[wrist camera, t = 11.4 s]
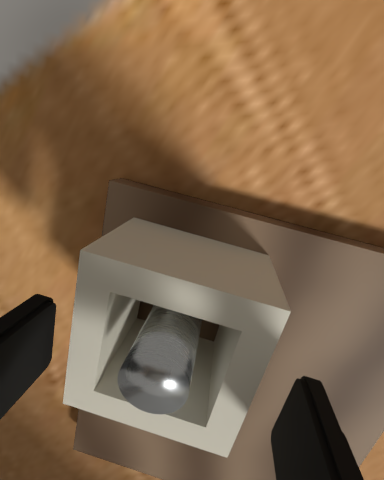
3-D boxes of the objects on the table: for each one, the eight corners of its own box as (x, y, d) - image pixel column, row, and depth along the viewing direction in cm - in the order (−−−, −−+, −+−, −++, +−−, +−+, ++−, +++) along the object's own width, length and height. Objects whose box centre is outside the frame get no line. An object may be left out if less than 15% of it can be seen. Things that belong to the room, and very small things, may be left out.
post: (211, 281, 14) (197, 368, 8) (200, 319, 14) (180, 423, 9) (167, 269, 14) (123, 346, 8) (158, 307, 15) (112, 401, 9)
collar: (269, 255, 13) (291, 311, 8) (228, 364, 15) (227, 457, 10) (134, 217, 13) (80, 250, 9) (114, 328, 16) (62, 403, 11)
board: (458, 268, 13) (485, 281, 12) (309, 504, 20) (315, 531, 18) (121, 178, 14) (109, 180, 13) (84, 429, 21) (73, 449, 19)
